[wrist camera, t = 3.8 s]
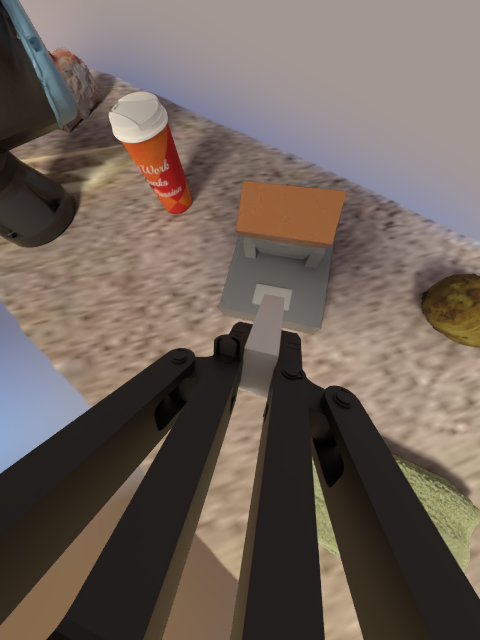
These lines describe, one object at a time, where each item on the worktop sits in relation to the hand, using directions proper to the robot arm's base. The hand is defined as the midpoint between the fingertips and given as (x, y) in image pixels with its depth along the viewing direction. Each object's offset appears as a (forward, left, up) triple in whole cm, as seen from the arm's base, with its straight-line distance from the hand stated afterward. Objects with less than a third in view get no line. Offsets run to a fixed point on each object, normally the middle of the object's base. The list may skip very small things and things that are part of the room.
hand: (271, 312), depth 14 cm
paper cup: (-32, +6, -15) cm, 36 cm away
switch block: (-8, +10, -15) cm, 20 cm away
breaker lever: (-8, +11, -11) cm, 17 cm away
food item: (-74, +5, -16) cm, 76 cm away
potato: (+15, +21, -16) cm, 30 cm away
